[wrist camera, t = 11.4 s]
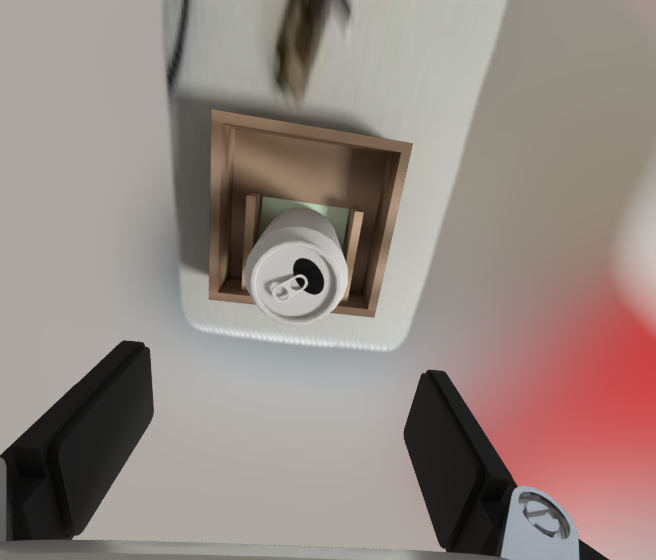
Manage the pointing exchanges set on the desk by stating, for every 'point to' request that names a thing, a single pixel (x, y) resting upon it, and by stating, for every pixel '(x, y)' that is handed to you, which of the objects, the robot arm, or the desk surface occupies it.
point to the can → (297, 268)
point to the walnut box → (302, 198)
